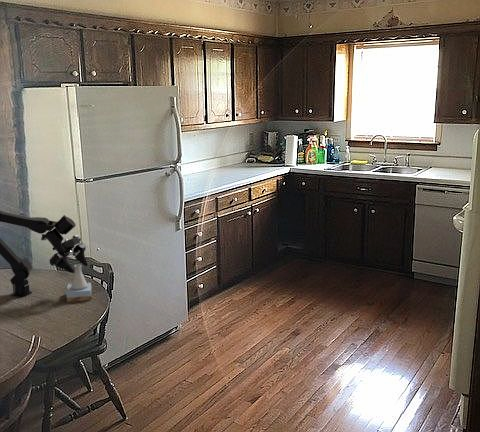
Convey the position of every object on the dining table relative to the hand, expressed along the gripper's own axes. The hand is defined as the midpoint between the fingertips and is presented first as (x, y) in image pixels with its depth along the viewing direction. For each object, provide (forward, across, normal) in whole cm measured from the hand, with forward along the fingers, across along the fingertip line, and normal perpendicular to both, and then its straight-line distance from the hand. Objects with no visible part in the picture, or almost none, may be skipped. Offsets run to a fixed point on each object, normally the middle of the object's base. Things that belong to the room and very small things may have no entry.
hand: (80, 269), depth 232 cm
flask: (+5, 0, +7) cm, 9 cm away
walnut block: (+9, 0, +10) cm, 14 cm away
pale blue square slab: (+7, 0, +9) cm, 11 cm away
